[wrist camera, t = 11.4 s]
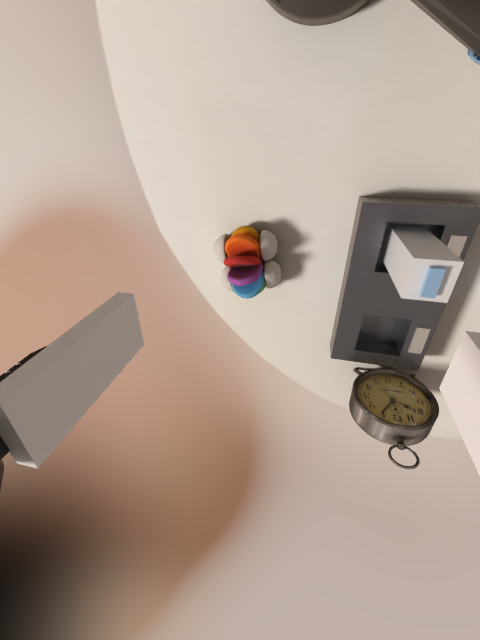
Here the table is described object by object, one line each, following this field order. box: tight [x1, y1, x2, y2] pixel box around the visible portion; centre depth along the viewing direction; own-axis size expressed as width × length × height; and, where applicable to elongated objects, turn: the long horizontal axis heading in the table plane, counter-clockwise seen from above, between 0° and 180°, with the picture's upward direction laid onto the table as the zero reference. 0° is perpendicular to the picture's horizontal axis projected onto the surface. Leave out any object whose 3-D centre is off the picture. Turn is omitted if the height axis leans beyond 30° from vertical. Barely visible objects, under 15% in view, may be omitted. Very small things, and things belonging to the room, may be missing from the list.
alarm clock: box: [349, 368, 439, 469], centre depth 42 cm, size 11×5×16 cm, turn 92°
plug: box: [381, 225, 464, 303], centre depth 32 cm, size 4×4×13 cm
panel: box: [330, 196, 480, 370], centre depth 39 cm, size 22×12×4 cm, turn 0°
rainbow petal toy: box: [215, 226, 281, 298], centre depth 41 cm, size 8×10×7 cm
